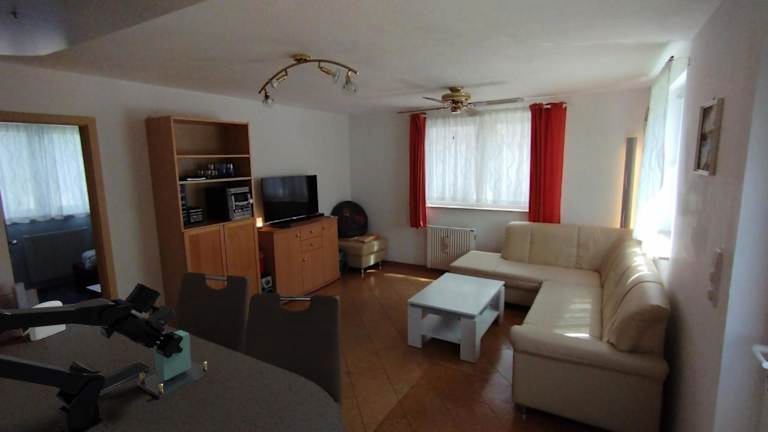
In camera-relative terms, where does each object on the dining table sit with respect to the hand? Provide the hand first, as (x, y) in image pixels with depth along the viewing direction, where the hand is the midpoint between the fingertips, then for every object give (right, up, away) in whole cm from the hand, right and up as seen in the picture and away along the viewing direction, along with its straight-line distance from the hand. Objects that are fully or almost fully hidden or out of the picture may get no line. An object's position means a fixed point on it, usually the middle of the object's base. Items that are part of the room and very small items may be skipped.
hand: (177, 348), depth 108 cm
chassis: (-1, -9, 0) cm, 9 cm away
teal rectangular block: (-1, -7, 0) cm, 7 cm away
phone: (-17, -9, 0) cm, 20 cm away
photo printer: (-63, -5, +26) cm, 69 cm away
